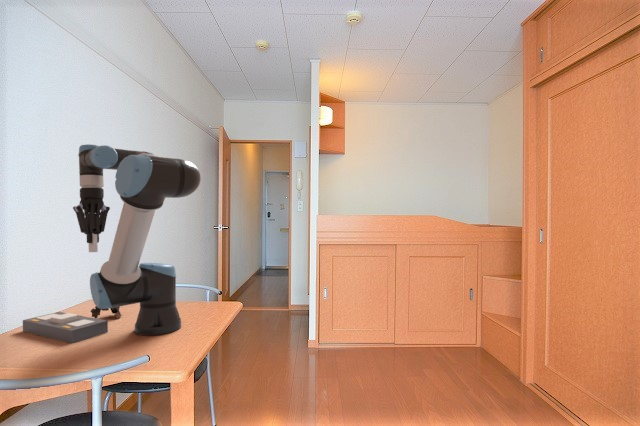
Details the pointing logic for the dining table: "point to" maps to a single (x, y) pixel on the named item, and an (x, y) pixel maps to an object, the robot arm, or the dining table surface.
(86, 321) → the key
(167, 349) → the dining table surface
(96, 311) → the dark brown knobbly arch
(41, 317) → the key
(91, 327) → the keypad
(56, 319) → the key middle
